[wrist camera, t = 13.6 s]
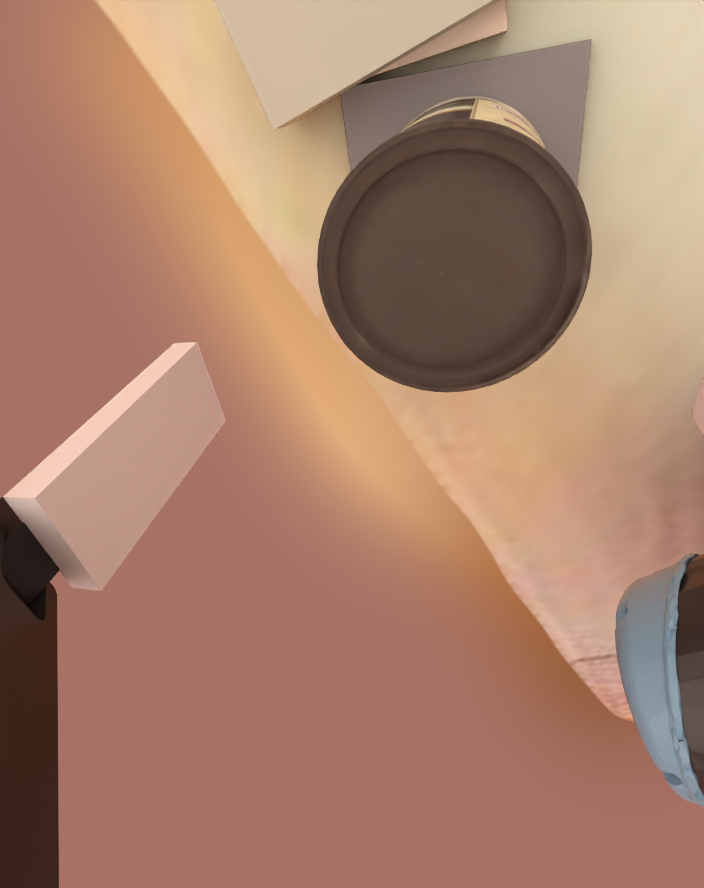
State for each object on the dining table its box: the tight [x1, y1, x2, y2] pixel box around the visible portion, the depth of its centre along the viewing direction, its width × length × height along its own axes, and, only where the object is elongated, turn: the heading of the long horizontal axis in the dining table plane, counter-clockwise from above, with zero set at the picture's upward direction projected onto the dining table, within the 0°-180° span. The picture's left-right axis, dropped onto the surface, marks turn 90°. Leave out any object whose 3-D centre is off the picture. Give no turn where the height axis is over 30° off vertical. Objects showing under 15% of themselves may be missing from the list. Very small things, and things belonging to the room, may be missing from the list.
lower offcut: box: [369, 0, 507, 78], centre depth 26 cm, size 6×13×2 cm, turn 105°
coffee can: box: [317, 96, 592, 392], centre depth 24 cm, size 10×10×14 cm
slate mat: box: [340, 39, 591, 188], centre depth 30 cm, size 13×13×1 cm
